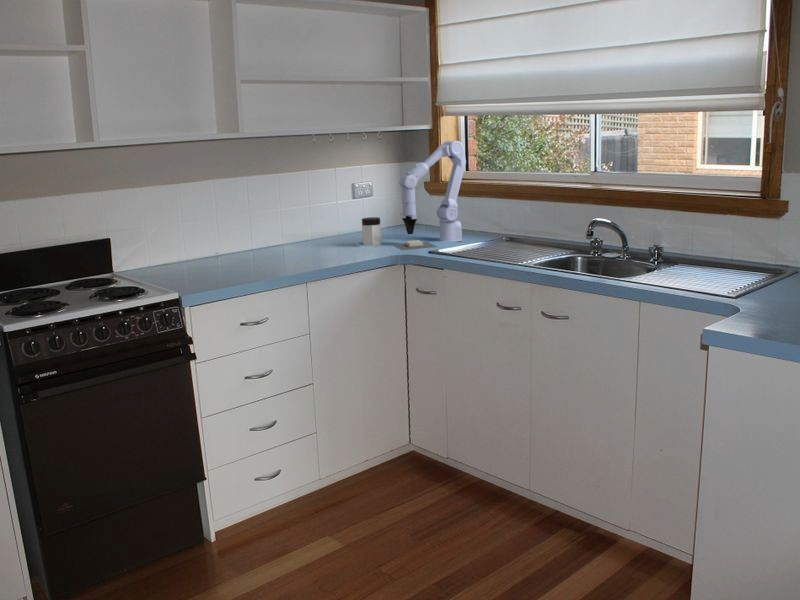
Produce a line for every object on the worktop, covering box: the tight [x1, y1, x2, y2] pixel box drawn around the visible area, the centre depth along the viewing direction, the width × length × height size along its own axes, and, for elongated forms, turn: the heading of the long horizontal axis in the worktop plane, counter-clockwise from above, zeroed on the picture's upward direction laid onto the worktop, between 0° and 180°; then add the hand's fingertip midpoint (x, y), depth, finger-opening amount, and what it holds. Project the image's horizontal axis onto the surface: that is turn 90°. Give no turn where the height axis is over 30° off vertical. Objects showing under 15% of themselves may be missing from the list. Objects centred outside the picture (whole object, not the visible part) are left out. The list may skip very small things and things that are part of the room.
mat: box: [392, 241, 439, 251], centre depth 347 cm, size 16×16×1 cm
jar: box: [361, 216, 382, 246], centre depth 357 cm, size 9×8×12 cm
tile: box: [404, 239, 424, 247], centre depth 348 cm, size 6×2×7 cm
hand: (410, 234), depth 352 cm, fingers closed
